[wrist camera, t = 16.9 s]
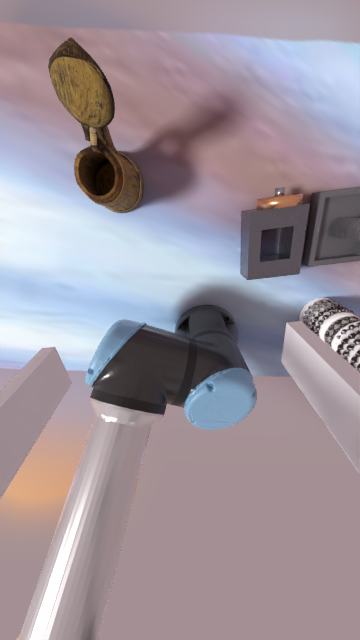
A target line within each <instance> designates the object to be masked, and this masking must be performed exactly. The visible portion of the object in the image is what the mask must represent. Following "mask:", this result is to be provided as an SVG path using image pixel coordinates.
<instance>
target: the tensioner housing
mask: <svg viewBox="0 0 360 640" xmlns="http://www.w3.org/2000/svg"><path fill="white" fill-rule="evenodd" d="M284 191H285V188H277V189H275V197H272V198H265V199H258V200H257V209H256V210H249V211H242V215H241V270H240V273H241V274H242V275H243V276H244V277H245V278H246V279H247V280H252V279H261V278H269V277H278V276H287V275H295V274H299V273H300V266H301V260H302V253H303V246H304V240H305V233H306V226H307V220H308V213H309V206H310V204H302V201H303V193H302V194H294V195H287V196H284ZM274 228H281V232H280V242H279V252H278V254H273V255H265V256H260V249H261V233H262V230H266V229H274Z"/></svg>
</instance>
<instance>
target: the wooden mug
mask: <svg viewBox="0 0 360 640" xmlns="http://www.w3.org/2000/svg"><path fill="white" fill-rule="evenodd" d="M48 68H49V72H50V77H51V81H52V84H53V86H54V89H55V91H56V94H57V96H58V98H59V100H60V101H61V103H62V104H63V105H64V107H65V108H66V109H67V110H68V112H69V113H70V114H71V115H72V116H73V117H74V118H75V119H76V120H77V121H78V122H80V123H81V125H82V128H83V130H84V134H85V138H86V140H87V141H91V146H88V147H87V148H85V149H83V150H81V151H80V152H79V153H78V154H77V157H76V159H75V165H74V170H75V177H76V181H77V184H78V185H79V187H80V188H81V189H82V191H83V192H84V193H85V194H86V195H87V196H88V197H89V198H90V199H91V200H92V201H94V202H95V203H97V204H100V205H102V206H105V207H106V208H108V209H109V210H112V211H114V212H117V213H127V212H130V211H132V210H134V209H135V208H136V207H137V206H138V205H139V203H140V201H141V199H142V195H143V181H142V177H141V174H140V171H139V169H138V167H137V166H136V164H135V163H134V162H133V161H132V160H131V159H130V158H129V157H128V156H126V155H125V154H123V153H122V152H119V151H116V149H115V147H114V145H113V142H112V139H111V136H110V133H109V130H108V127H107V125H109V124H110V122H111V121H112V119H113V118H114V112H115V106H114V98H113V93H112V90H111V87H110V85H109V83H108V81H107V79H106V76H105V75H104V73H103V72H102V70H101V69H100V67H99V66H98V65H97V63H96V62H95V61H94V60H93V59H92V57H91V56H90V55H89V54H88V53H87V52H86V51H85V50H84V49H83V48H82V47H81V46H80V45H79V44H78V43H77V42H76V41H75V40H74V39H73V38H69V39H67V40H66V41H65V42H64V43H62V44H61V45H60V46H59V47H58V48H57V49H56V51H55V52H54V53H53V55H52V56H51V58H50V60H49V66H48Z"/></svg>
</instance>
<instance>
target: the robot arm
mask: <svg viewBox="0 0 360 640" xmlns="http://www.w3.org/2000/svg"><path fill="white" fill-rule="evenodd" d="M237 339H238V330H237V326H236V324H235V322H234V320H233V318H232V316H231V315H230V314H229V313H228V312H227V311H225V310H224V309H222V308H220V307H217V306H213V305H202V306H197V307H194V308H192V309H190V310H188V311H187V312H186V313H184V314H183V315H182V316H181V318H180V319H179V320H178V322H177V325H176V328H175V333H172V332H169V331H166V330H162V329H159V328H155V327H152V326H149V325H146V323H138V322H134V321H130V320H119V321H117V322H116V323H114V324H113V325H112V326H111V328H110V329H109V330H108V331H107V333H106V334H105V336H104V338H103V339H102V341H101V343H100V344H99V346H98V348H97V350H96V352H95V354H94V356H93V358H92V361H91V363H90V367H89V369H88V372H87V374H86V377H85V382H86V384H88V385H89V387H93V386H94V387H93V391H92V394H91V396H90V402H91V404H92V405H93V407H94V410H95V417H94V420H93V423H92V426H91V429H90V432H89V434H88V437H87V440H86V443H85V446H84V449H83V452H82V455H81V458H80V461H79V464H78V467H77V470H76V473H75V476H74V478H73V481H72V484H71V487H70V490H69V493H68V496H67V499H66V502H65V505H64V508H63V510H62V514H61V516H60V519H59V522H58V525H57V528H56V531H55V534H54V537H53V540H52V543H51V546H50V549H49V552H48V554H47V557H46V560H45V563H44V566H43V569H42V572H41V575H40V578H39V581H38V584H37V587H36V590H35V593H34V596H33V598H32V602H31V604H30V608H29V610H28V613H27V616H26V619H25V622H24V625H23V628H22V631H21V634H20V636H19V637H17V638H16V639H15V640H99V636H100V632H101V628H102V624H103V620H104V616H105V612H106V608H107V604H108V600H109V595H110V592H111V587H112V583H113V579H114V575H115V571H116V567H117V563H118V559H119V555H120V551H121V547H122V543H123V539H124V535H125V531H126V527H127V523H128V519H129V515H130V511H131V506H132V502H133V498H134V494H135V490H136V486H137V482H138V478H139V474H140V470H141V466H142V461H143V458H144V454H145V449H146V445H147V441H148V438H149V433H150V429H151V426H152V425H153V424H154V423H155V422H156V421H158V420H159V419H161V418H162V417H163V416H164V413H165V409H166V405H167V404H171V405H175V406H179V407H183V408H184V412H185V415H186V417H187V419H188V420H189V421H190V422H191V423H192V424H193V425H194V426H196V427H198V428H201V429H206V430H217V429H222V428H226V427H230V426H231V425H234V424H236V423H238V422H240V421H241V420H243V419H244V418H245V417H246V416H247V415H248V414H249V413H250V412H251V411H252V409H253V408H254V406H255V403H256V399H257V392H256V388H255V385H254V383H253V378H252V375H251V373H250V371H249V369H248V367H247V365H246V363H245V361H244V359H243V357H242V355H241V353H240V351H239V349H238V347H237ZM281 363H282V364H283V365H284V367H285V368H286V370H287V371H288V373H289V374H290V375H291V377H292V378H293V380H294V381H295V383H296V384H297V386H298V387H299V388H300V390H301V391H302V393H303V394H304V396H305V397H306V398H307V400H308V401H309V403H310V404H311V406H312V407H313V408H314V410H315V411H316V413H317V414H318V416H319V417H320V418H321V420H322V421H323V423H324V424H325V425H326V427H327V428H328V430H329V431H330V433H331V434H332V436H333V437H334V438H335V440H336V441H337V443H338V444H339V446H340V447H341V449H342V450H343V451H344V453H345V454H346V456H347V457H348V459H349V460H350V461H351V463H352V464H353V466H354V467H355V469H356V470H357V471H358V473H359V474H360V371H357V370H356V369H355V368H354V367H353V366H352V365H350V364H349V363H348V362H347V361H346V360H345V359H344V358H342V357H341V356H340V355H339V354H338V353H337V352H336V351H334V350H333V349H332V348H331V347H330V346H329V345H328V344H326V343H325V342H324V341H323V340H322V339H321V338H320V337H318V336H317V335H316V334H315V333H314V332H313V331H312V330H310V329H309V328H308V327H307V326H306V325H305V324H304V323H302V322H301V321H295V322H286V329H285V337H284V344H283V352H282V359H281ZM71 383H72V382H71V380H70V377H69V375H68V373H67V371H66V369H65V367H64V365H63V363H62V361H61V358H60V356H59V354H58V352H57V350H56V348H55V347H51V348H42V349H41V350H40V351H39V352H38V353H37V354H36V355H35V356H34V357H33V358H32V359H31V360H30V361H29V362H28V363H27V364H26V365H25V366H24V367H23V368H22V369H21V370H20V371H19V373H17V375H16V376H15V377H14V378H13V379H12V380H11V381H10V382H9V383H8V384H7V385H6V386H5V387H4V388H3V389H2V390H1V391H0V499H1V497H2V496H3V494H4V492H5V491H6V489H7V488H8V486H9V484H10V483H11V481H12V480H13V478H14V476H15V475H16V473H17V471H18V469H19V468H20V466H21V465H22V463H23V462H24V460H25V458H26V457H27V455H28V453H29V452H30V450H31V449H32V447H33V445H34V444H35V442H36V440H37V439H38V437H39V436H40V434H41V432H42V431H43V429H44V427H45V426H46V424H47V422H48V421H49V419H50V418H51V416H52V414H53V413H54V411H55V410H56V408H57V406H58V405H59V403H60V401H61V400H62V398H63V397H64V395H65V393H66V392H67V390H68V388H69V387H70V385H71Z"/></svg>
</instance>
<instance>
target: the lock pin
mask: <svg viewBox="0 0 360 640" xmlns="http://www.w3.org/2000/svg"><path fill="white" fill-rule="evenodd" d="M329 235H330V236H331V237H334V238H339V239H345V240H351V241H357V242H360V218H343V217H340V218H337V219H335V220H334V221H333V222H332V223H331V225H330V227H329Z"/></svg>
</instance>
